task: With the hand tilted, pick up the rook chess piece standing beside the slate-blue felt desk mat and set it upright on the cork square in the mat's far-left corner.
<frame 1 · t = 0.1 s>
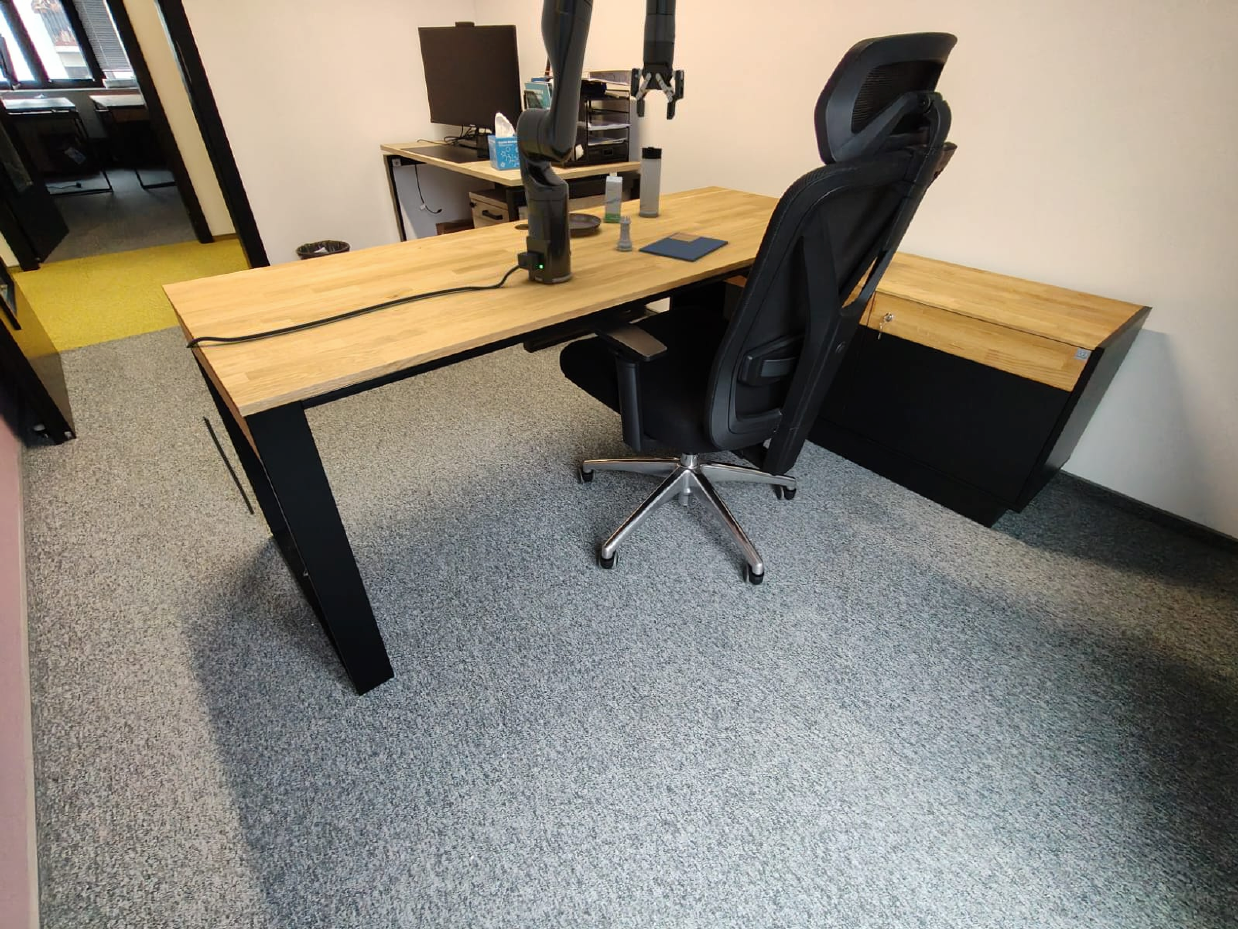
hand: (655, 118, 144), 29 cm above the table, tool pointing down, fingers open, 8 cm apart
rook chess piece: (624, 250, 151), on the table
desk mat: (684, 247, 153), on the table
plant saucer: (571, 231, 165), on the table
travel mug: (648, 216, 183), on the table
ink box: (613, 220, 177), on the table
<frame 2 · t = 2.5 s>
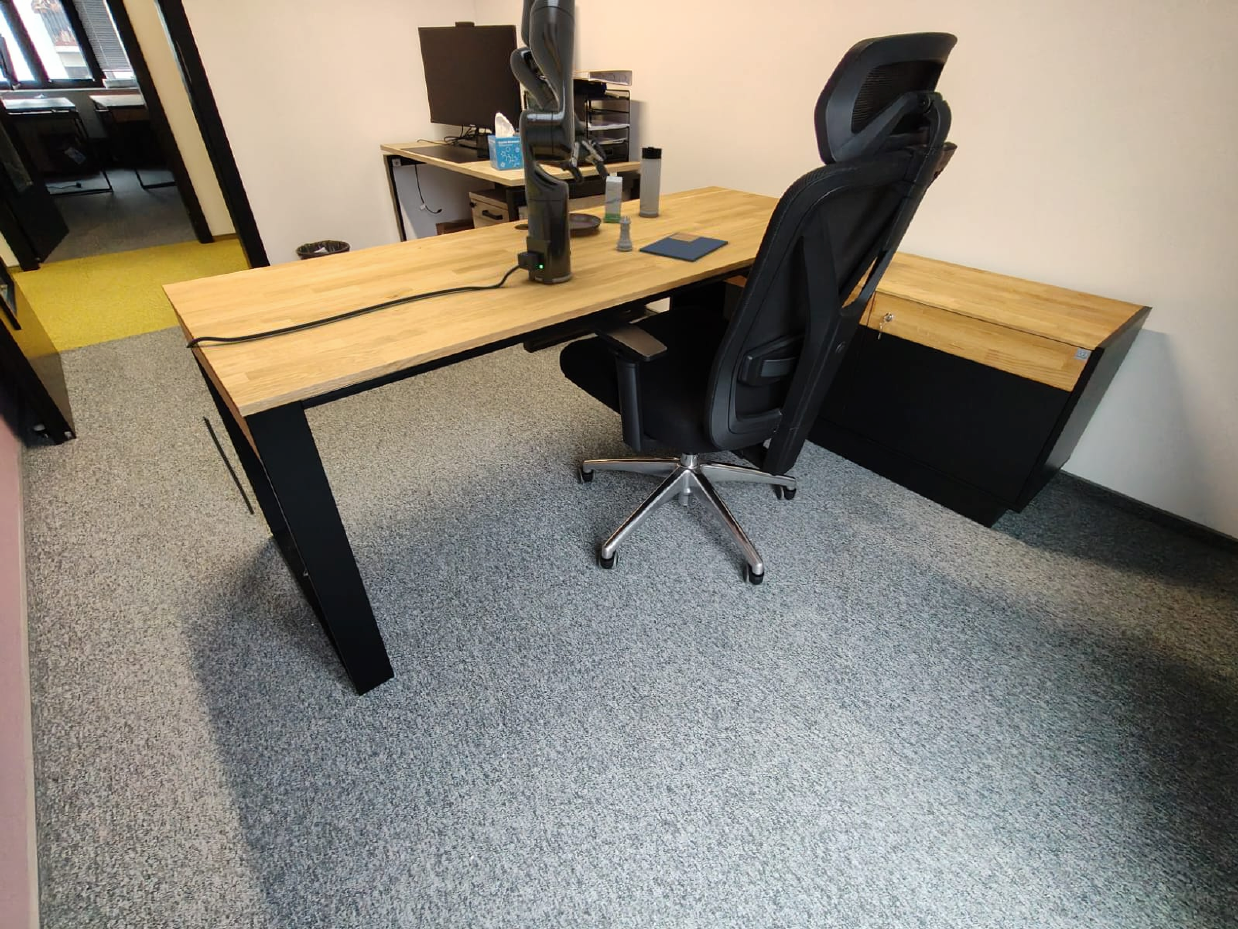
hand: (594, 180, 146), 16 cm above the table, tool tilted 40°, fingers open, 8 cm apart
nothing on the table moved.
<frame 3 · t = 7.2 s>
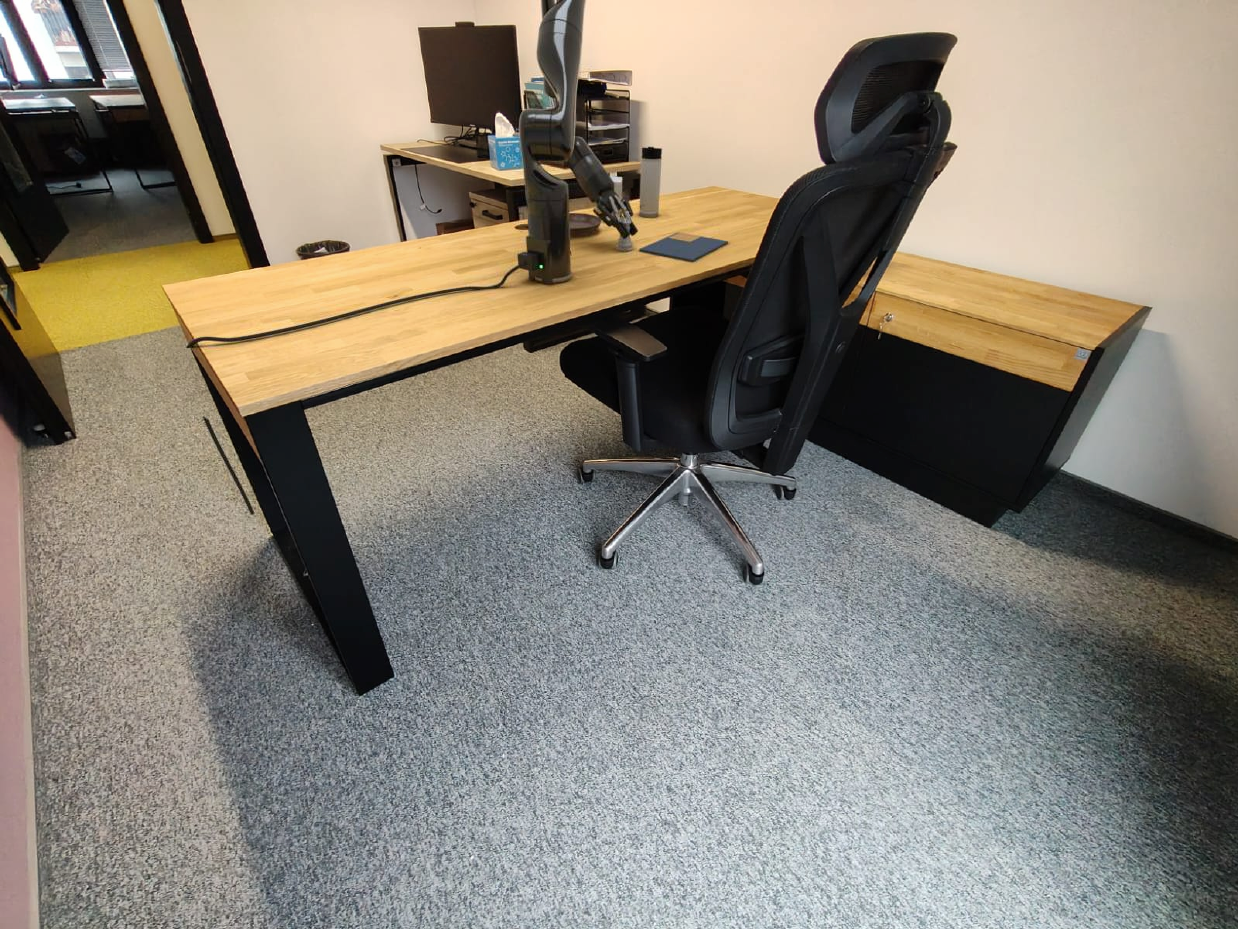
hand: (631, 234, 147), 4 cm above the table, tool tilted 45°, fingers closed on rook chess piece, 3 cm apart
rook chess piece: (624, 250, 151), on the table, touching gripper
everything else where it was.
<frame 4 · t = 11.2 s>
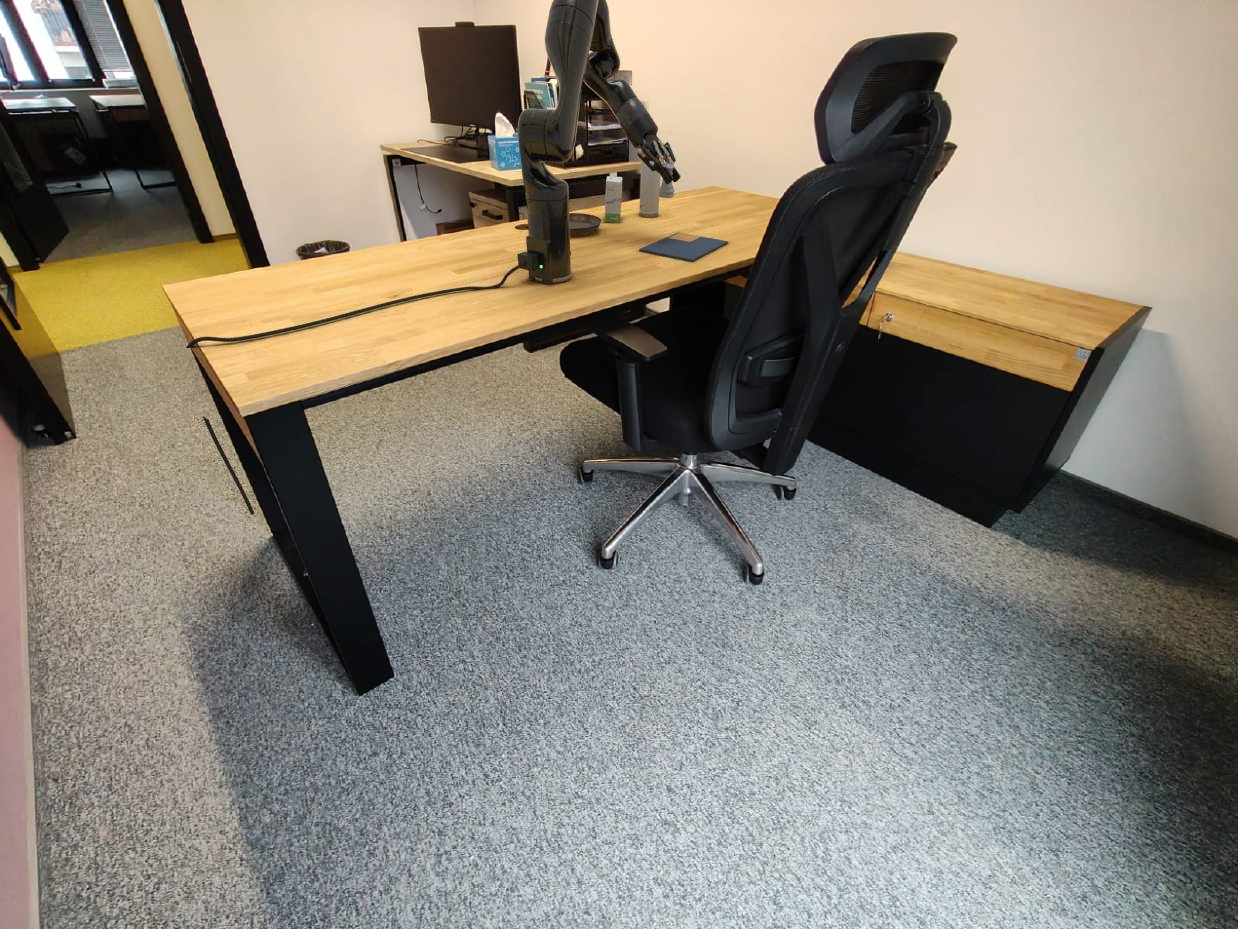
hand: (674, 180, 146), 16 cm above the table, tool tilted 45°, fingers closed on rook chess piece, 3 cm apart
rook chess piece: (666, 197, 150), point 12 cm above the table, touching gripper
everything else where it was.
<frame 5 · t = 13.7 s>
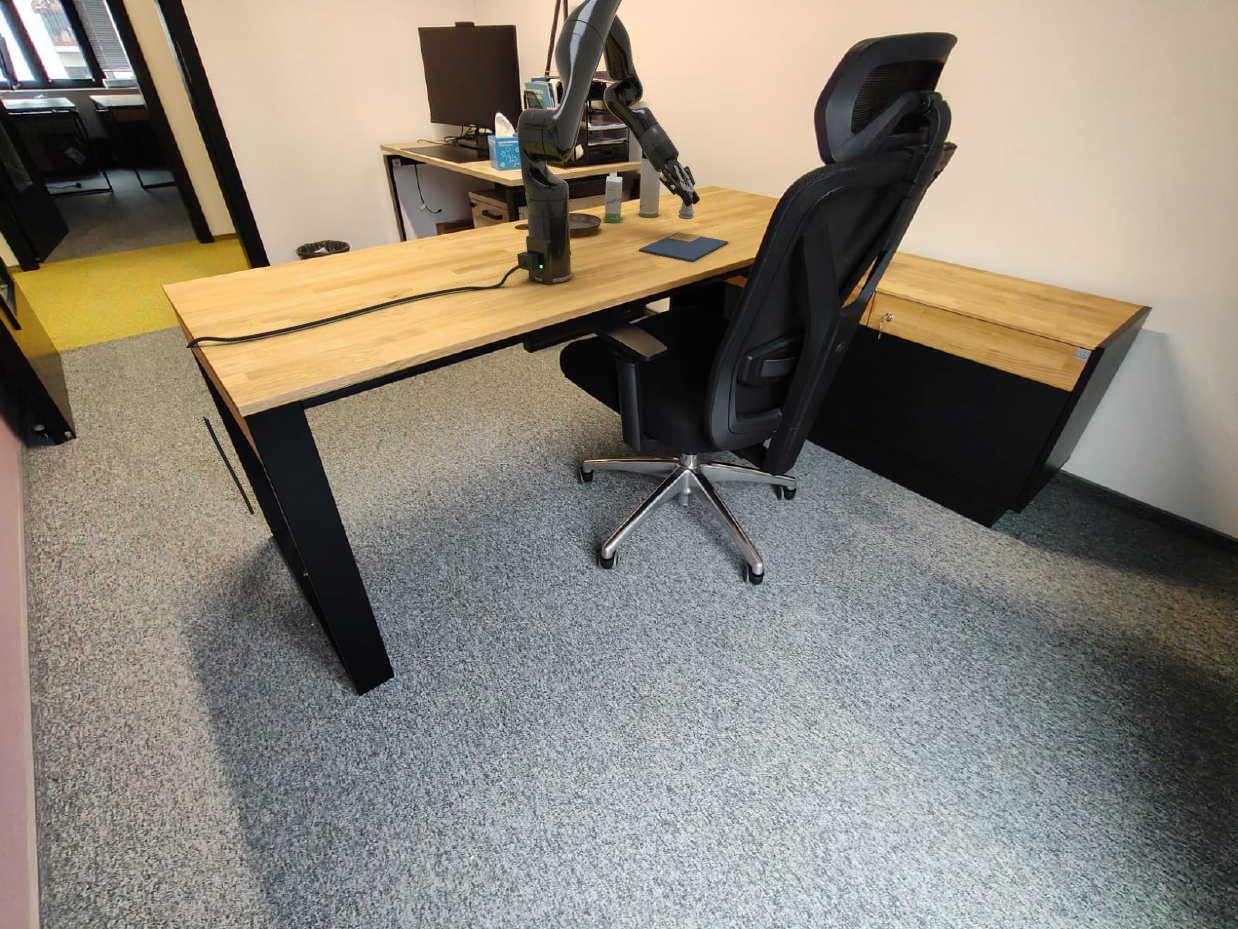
hand: (693, 203, 153), 10 cm above the table, tool tilted 45°, fingers closed on rook chess piece, 3 cm apart
rook chess piece: (685, 218, 156), point 6 cm above the table, touching gripper
everything else where it was.
when the fingers open (5 cm above the table, at t = 15.4 s): rook chess piece stays where it is, resting on desk mat.
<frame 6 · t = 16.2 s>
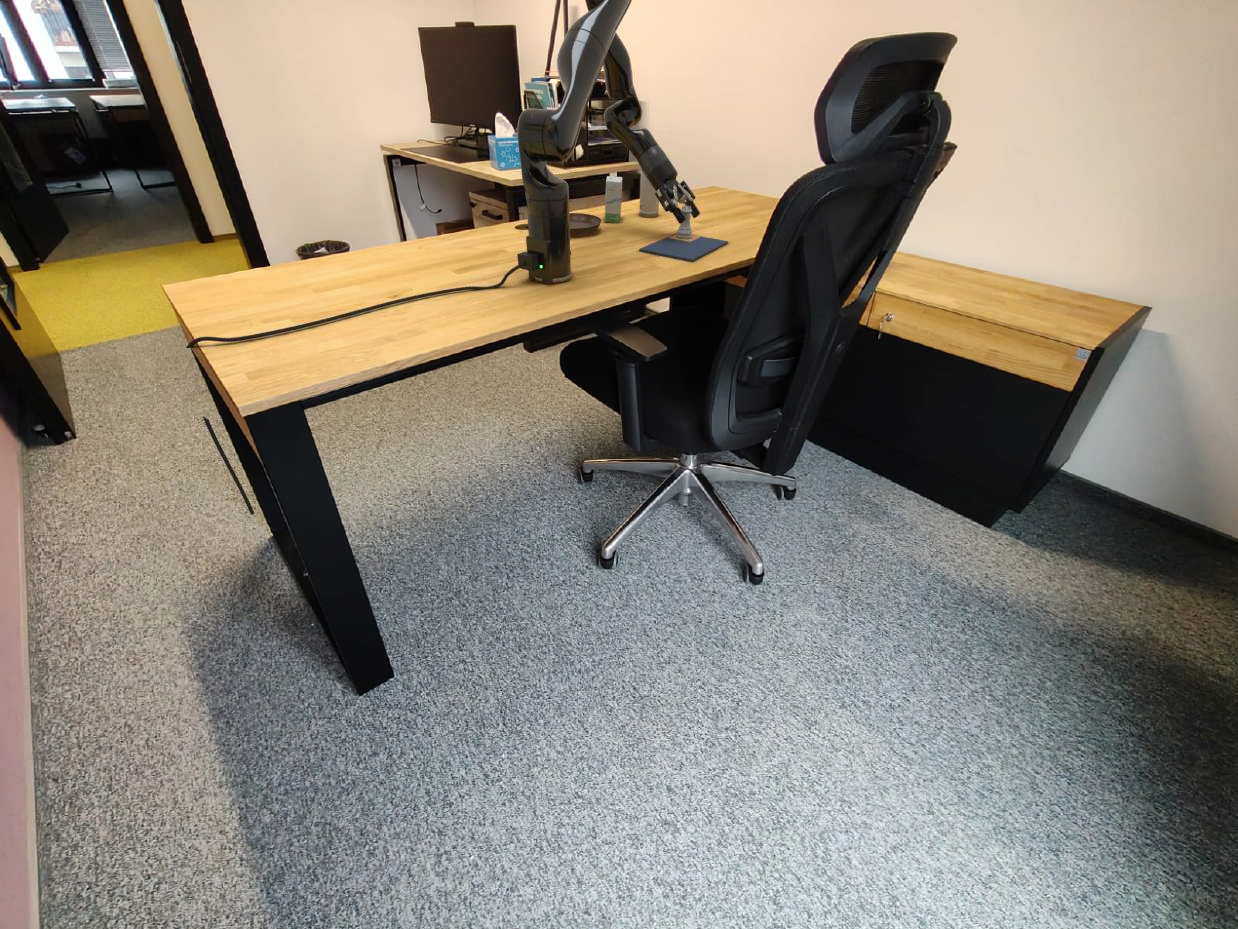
hand: (690, 218, 155), 6 cm above the table, tool tilted 45°, fingers open, 8 cm apart
rook chess piece: (684, 237, 159), point 1 cm above the table, touching desk mat
everything else where it was.
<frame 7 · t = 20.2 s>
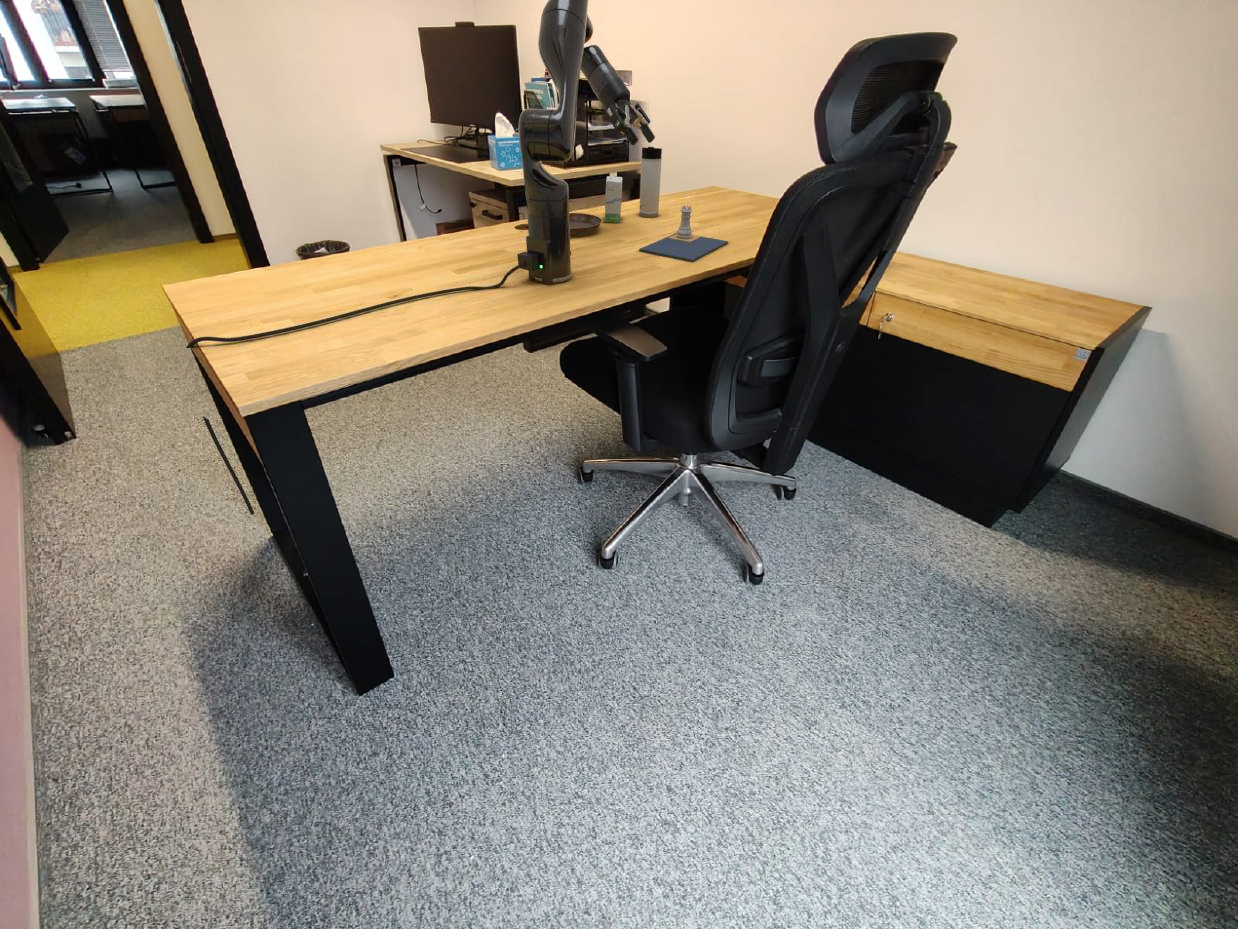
hand: (644, 141, 149), 24 cm above the table, tool tilted 45°, fingers open, 8 cm apart
nothing on the table moved.
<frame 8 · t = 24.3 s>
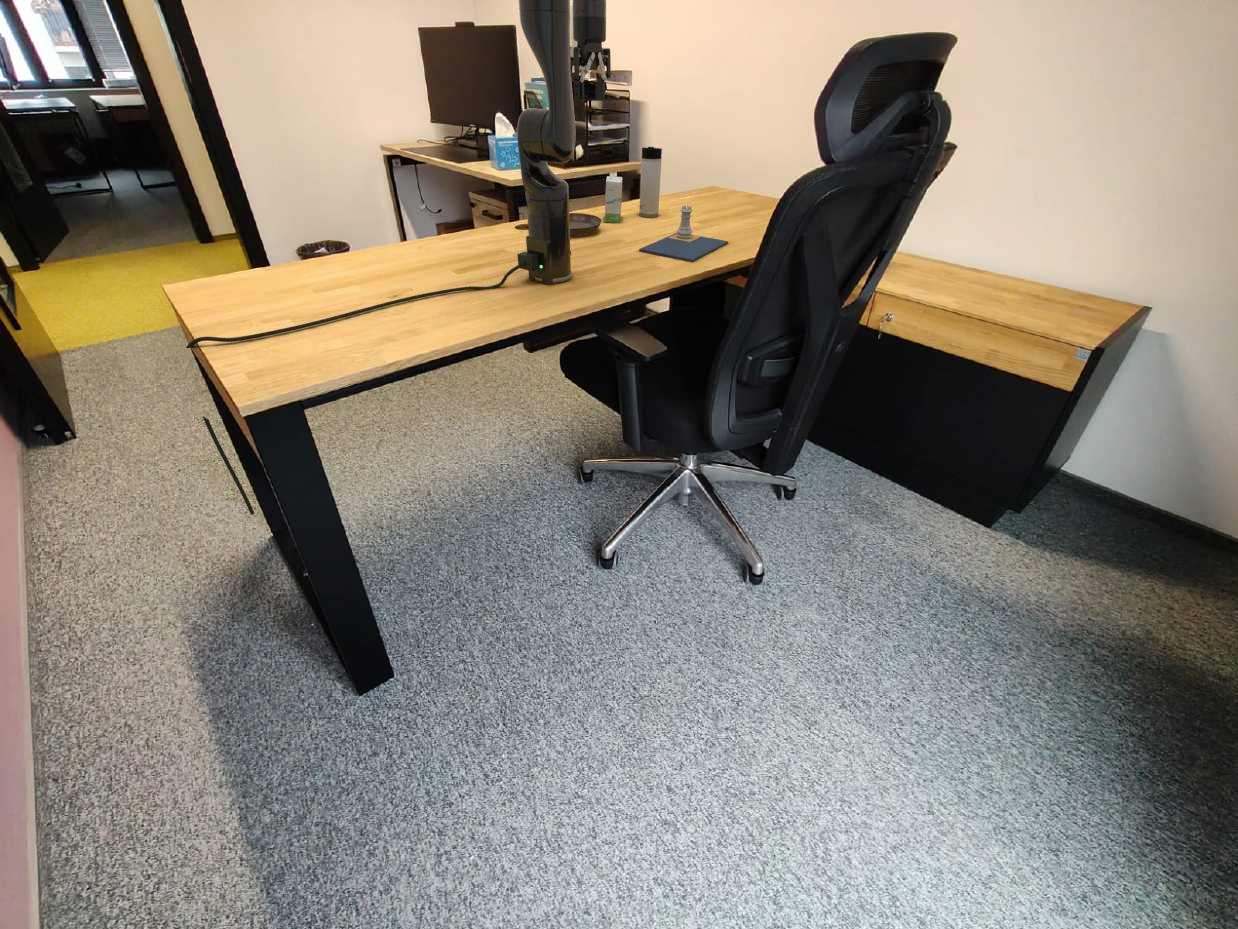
hand: (590, 100, 136), 33 cm above the table, tool pointing down, fingers open, 8 cm apart
nothing on the table moved.
at the end: rook chess piece 0.2 cm from the target spot on the desk mat, point 0.6 cm above the desk mat's base; rook chess piece tilted 0°; rook chess piece touching desk mat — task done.
